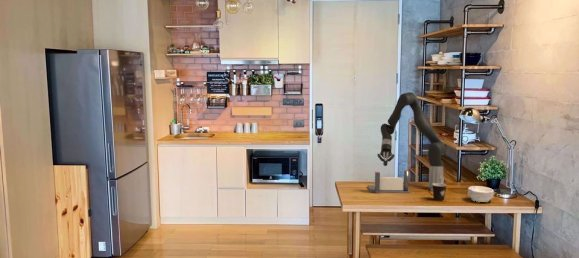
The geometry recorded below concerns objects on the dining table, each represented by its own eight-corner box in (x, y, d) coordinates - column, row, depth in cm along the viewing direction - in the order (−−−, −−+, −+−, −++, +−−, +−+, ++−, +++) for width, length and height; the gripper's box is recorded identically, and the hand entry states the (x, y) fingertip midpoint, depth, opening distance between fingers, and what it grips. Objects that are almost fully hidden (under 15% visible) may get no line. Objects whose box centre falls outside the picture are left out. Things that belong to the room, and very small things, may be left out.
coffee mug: (444, 198, 299) (444, 183, 297) (447, 201, 290) (447, 186, 289) (425, 197, 300) (426, 182, 299) (428, 201, 291) (429, 186, 290)
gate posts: (407, 191, 316) (407, 170, 314) (408, 192, 313) (409, 171, 311) (374, 192, 314) (374, 170, 312) (375, 193, 311) (375, 171, 309)
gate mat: (405, 187, 328) (405, 185, 328) (410, 193, 312) (410, 191, 311) (367, 186, 330) (367, 185, 330) (370, 192, 313) (370, 191, 313)
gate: (402, 189, 315) (402, 171, 314) (402, 190, 313) (403, 172, 311) (374, 189, 316) (375, 171, 315) (375, 190, 314) (375, 172, 313)
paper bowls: (496, 204, 284) (496, 192, 283) (470, 203, 286) (470, 191, 286) (489, 198, 299) (490, 186, 298) (465, 197, 301) (465, 185, 300)
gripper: (377, 143, 341) (375, 162, 331) (395, 143, 338) (394, 162, 327) (377, 148, 347) (376, 168, 337) (395, 149, 344) (394, 168, 333)
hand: (385, 165), depth 332 cm, fingers closed
